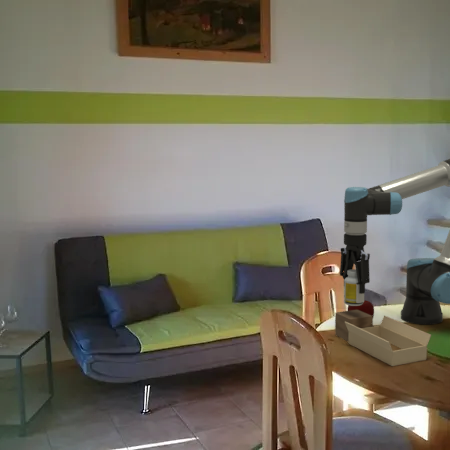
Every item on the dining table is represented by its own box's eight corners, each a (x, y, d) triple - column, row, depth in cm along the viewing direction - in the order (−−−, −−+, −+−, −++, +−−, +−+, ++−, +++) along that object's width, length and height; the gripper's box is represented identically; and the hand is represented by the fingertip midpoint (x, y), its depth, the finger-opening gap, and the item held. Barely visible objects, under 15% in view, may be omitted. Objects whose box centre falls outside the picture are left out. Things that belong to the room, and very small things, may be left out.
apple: (364, 321, 237) (365, 295, 235) (379, 328, 228) (380, 301, 227) (342, 324, 234) (342, 298, 232) (356, 332, 225) (357, 304, 223)
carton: (384, 337, 219) (384, 315, 218) (430, 358, 198) (431, 334, 197) (344, 344, 212) (344, 321, 211) (387, 366, 191) (388, 341, 190)
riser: (356, 331, 225) (357, 309, 224) (372, 338, 217) (372, 316, 216) (335, 334, 222) (335, 312, 221) (350, 342, 214) (350, 319, 213)
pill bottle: (363, 307, 214) (364, 273, 212) (343, 306, 215) (344, 272, 214) (363, 302, 220) (363, 269, 219) (344, 301, 222) (344, 268, 220)
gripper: (329, 230, 222) (328, 294, 225) (363, 238, 204) (361, 308, 207) (348, 228, 225) (346, 292, 228) (382, 236, 207) (380, 305, 210)
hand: (353, 299), depth 218 cm, fingers closed on pill bottle, 6 cm apart
